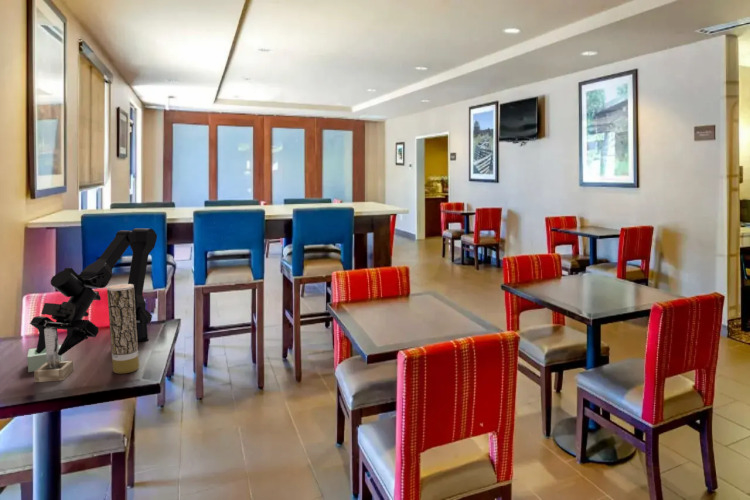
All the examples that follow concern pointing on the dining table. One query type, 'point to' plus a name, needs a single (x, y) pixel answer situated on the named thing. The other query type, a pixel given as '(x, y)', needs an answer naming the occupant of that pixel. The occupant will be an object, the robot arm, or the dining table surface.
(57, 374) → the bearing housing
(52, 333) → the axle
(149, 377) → the dining table surface
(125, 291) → the wooden log
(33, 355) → the socket block
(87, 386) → the dining table surface
